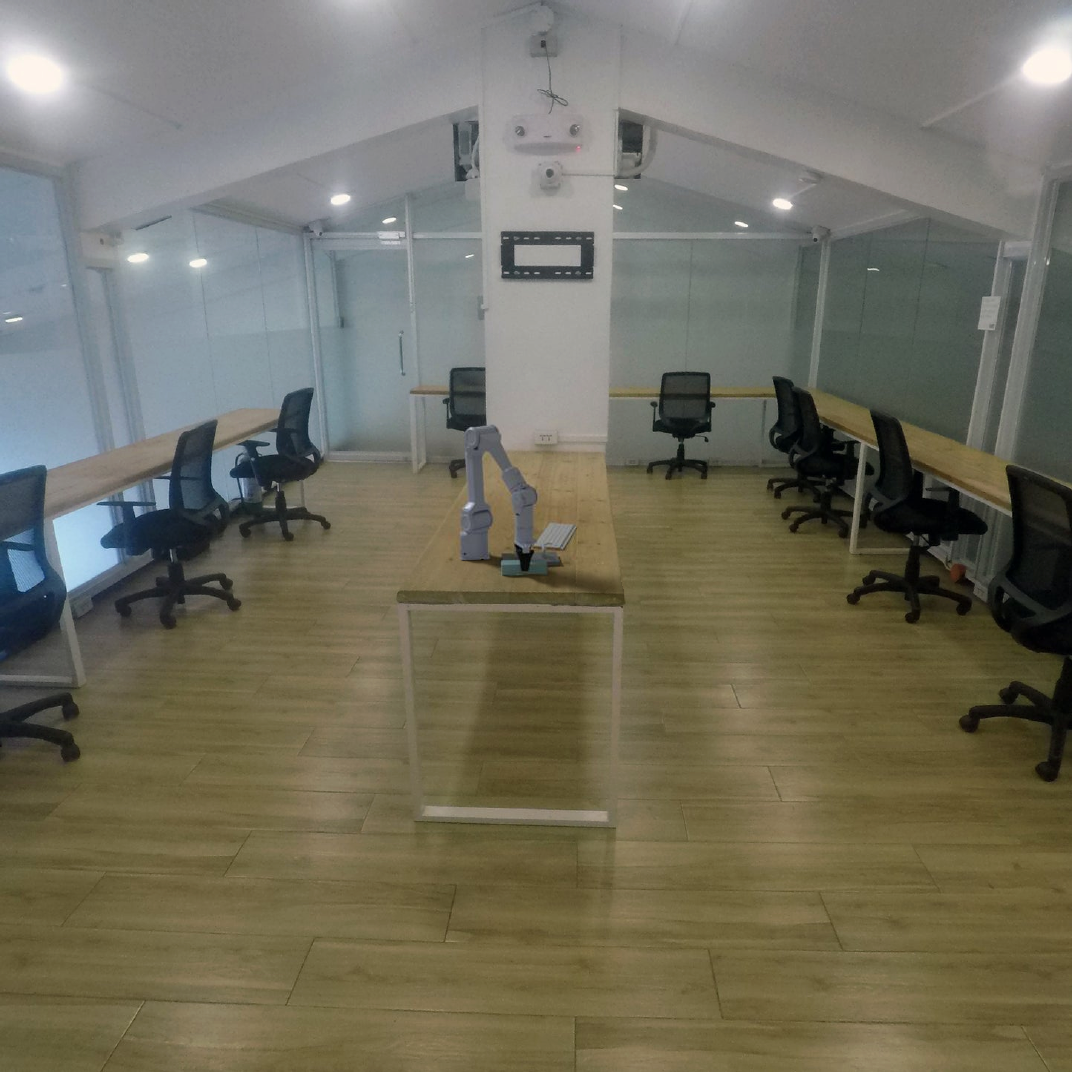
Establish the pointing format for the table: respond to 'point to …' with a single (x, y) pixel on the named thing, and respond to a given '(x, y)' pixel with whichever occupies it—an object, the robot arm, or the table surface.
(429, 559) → the table surface
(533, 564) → the teal rectangular block
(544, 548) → the peg stand
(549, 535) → the white ridged flat slab
